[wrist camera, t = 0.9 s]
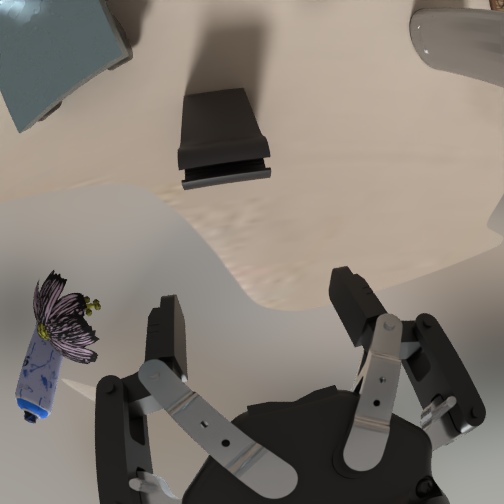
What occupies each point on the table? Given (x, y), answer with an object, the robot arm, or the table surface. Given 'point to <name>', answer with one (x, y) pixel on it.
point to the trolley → (54, 52)
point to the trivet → (497, 5)
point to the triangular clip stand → (220, 140)
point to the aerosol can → (38, 379)
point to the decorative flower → (65, 320)
